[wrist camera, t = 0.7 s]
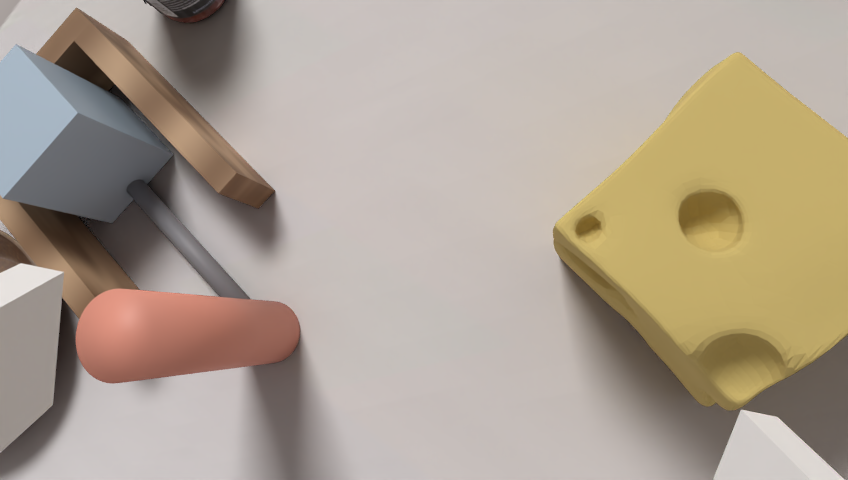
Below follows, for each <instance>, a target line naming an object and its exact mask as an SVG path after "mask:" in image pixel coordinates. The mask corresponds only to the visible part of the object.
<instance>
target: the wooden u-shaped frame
mask: <svg viewBox="0 0 848 480" xmlns="http://www.w3.org/2000/svg"><path fill="white" fill-rule="evenodd" d="M36 55H38V56H40V57H42V58H44V59H46V60H48V61H50V62H52V63H54V64H56V65H58V66H60V67H62V68H63V69H65V70H67V71H69V72H71V73H73V74H75V75H77V76H79V77H81V78H83V79H85V80H87V81H89V82H91V83H93V84H95V85H97V86H98V87H100V88H102V89H104V90H106V91H109V90H110V89H111V88H112V87H113V85H114V84H115V85H116V86H117V87H118V88H119V89H120V90H121V91H122V92H123V93H124V94H125V95H126V96H127V97H128V98H129V99H130V101H131V102H132V103H133V104H134V105H135V106H136V107H137V108H138V109H139V110H140V111H141V112H142V113H143V114H144V115H145V116H146V117H147V118H148V120H149V121H150V122H151V123H152V124H153V125H154V126H155V127H156V128H157V129H158V130H159V131H160V132H161V133H162V134H163V135H164V136H165V138H166V139H167V140H168V141H169V142H170V143H171V144H172V145H173V146H174V147H175V148H176V149H177V150H178V151H179V152H180V153H181V154H182V155H183V157H184V158H185V159H186V160H187V161H188V162H189V163H190V164H191V165H192V166H193V167H194V168H195V169H196V170H197V171H198V172H199V173H200V175H201V176H202V177H203V178H204V179H205V180H206V181H207V182H208V183H209V184H210V185H211V186H212V187H213V188H214V189H215V190H216V191H217V193H219V194H221V195H224V196H227V197H229V198H232V199H234V200H237V201H240V202H242V203H245V204H247V205H250V206H253V207H255V208H258V209H259V208H260V206H261V205H262V204H263V203H264V202H265V201H266V200H267V199H268V198H269V197H270V195H271V194H272V193H273V192H274V191H275V190H274V189H273V188H272V187H271V186H270V185H269V184H268V183H267V182H266V181H265V180H264V179H263V178H262V177H261V176H260V175H259V174H258V173H257V172H256V171H255V170H254V169H253V168H252V167H251V166H250V165H249V164H248V163H247V162H246V161H245V160H244V159H243V158H242V157H241V156H240V155H239V154H238V153H237V152H236V151H235V150H234V149H233V148H232V147H231V146H230V144H229V143H228V142H227V141H226V140H225V139H224V138H223V137H222V136H221V135H220V134H219V133H218V132H217V131H216V130H215V129H214V128H213V127H212V126H211V125H210V124H209V123H208V122H207V121H206V120H205V119H204V118H203V117H202V116H201V115H200V114H199V113H198V112H197V111H196V110H195V109H194V108H193V107H192V106H191V105H190V104H189V103H188V102H187V101H186V100H185V99H184V98H183V97H182V96H181V95H180V94H179V93H178V92H177V91H176V90H175V89H174V88H173V87H172V86H171V84H170V83H169V82H168V81H167V80H166V79H165V78H164V77H163V76H162V75H161V74H160V73H159V72H158V71H157V70H156V69H155V68H154V67H153V66H152V65H151V64H150V63H149V62H148V61H147V60H146V59H145V58H144V57H143V56H142V55H141V54H140V53H139V52H138V51H137V50H136V49H135V48H134V47H133V46H132V45H131V44H130V43H129V42H128V41H127V40H125V39H124V38H122V37H121V36H119V35H118V34H116V33H115V32H113V31H112V30H110V29H109V28H107V27H106V26H104V25H102V24H101V23H99V22H98V21H96V20H95V19H93V18H92V17H90V16H89V15H87V14H86V13H84V12H83V11H81V10H79V9H78V8H76V9H75V10H74V11H73V12H72V13H71V14H70V16H69V17H68V18H67V19H66V20H65V21H64V22H63V24H62V25H61V26H60V27H59V28H58V29H57V31H56V32H55V33H54V34H53V35H52V36H51V37H50V39H49V40H48V41H47V42H46V43H45V44H44V46H43V47H42V48H41V49H40V50H39V51H38V52H37V54H36ZM0 220H1V221H2V222H3V224H4V225H5V226H6V227H7V229H8V230H9V231H10V232H11V234H12V235H13V236H14V237H15V239H16V240H17V241H18V243H19V244H20V245H21V246H22V248H23V249H24V250H25V251H26V253H27V254H28V255H29V256H30V258H31V259H32V260H33V261H34V263H35V264H36V265H37V266H38V267H42V268H47V269H52V270H57V271H62V272H64V279H63V291H62V298H63V299H64V300H65V302H66V303H67V304H68V305H69V307H70V308H71V309H72V310H73V312H74V313H75V314H76V316H77V317H78V318H79V319H80V317H81V315H82V313H83V311H84V309H85V308H86V307H87V305H88V304H89V303H90V302H91V301H92V300H93V299H94V298H95V297H97V296H98V295H99V294H101V293H103V292H105V291H108V290H112V289H132V290H139V289H138V287H137V286H136V285H135V284H134V283H133V281H132V280H131V279H130V278H129V277H128V276H127V274H126V273H125V272H124V271H123V270H122V268H121V267H120V266H119V265H118V264H117V262H116V261H115V260H114V259H113V258H112V257H111V255H110V254H109V253H108V252H107V251H106V249H105V248H104V247H103V246H102V245H101V244H100V242H99V241H98V240H97V239H96V238H95V236H94V235H93V234H92V233H91V232H90V231H89V229H88V228H87V227H86V226H85V225H84V223H83V222H82V221H81V220H80V219H79V217H78V216H77V215H74V214H69V213H65V212H60V211H56V210H52V209H47V208H43V207H38V206H34V205H29V204H25V203H21V202H16V201H12V200H7V199H3V198H2V197H1V196H0Z"/></svg>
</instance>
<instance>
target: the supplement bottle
mask: <svg viewBox="0 0 848 480" xmlns="http://www.w3.org/2000/svg"><path fill="white" fill-rule="evenodd" d="M145 1H146V2H147V3H148V4H149V5H150V6H153V7H154V8H155V9H157V10H158V11H159V12H160V13H162V14H164V15H165V16H166V17H168V18H170V19H172V20H175V21H178V22H184V23H192V22H197V21H200V20H202V19H205V18H207V17H209V16H210V15H211V14H213V13H215V12H216V11H217V10H218V9H219V8H220V7H221V5H222V4H223V3H224V1H225V0H144V2H145ZM146 2H145V4H146Z"/></svg>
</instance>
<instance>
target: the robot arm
mask: <svg viewBox="0 0 848 480" xmlns="http://www.w3.org/2000/svg"><path fill="white" fill-rule="evenodd" d="M63 279H64V272H62V271H57V270H52V269H47V268H42V267H37V266H32V265H27V264H22V263H20V264H18V265H16V266H14V267H12V268H10V269H8V270H6V271H3V272H1V273H0V453H1V452H2V451H3V450H4V449H5V448H6V447H7V446H8V445H10V444H11V443H12V442H13V441H14V440H15V439H16V438H17V437H18V436H19V435H21V434H22V433H23V432H24V431H25V430H26V429H27V428H28V427H29V426H31V425H32V424H33V423H34V422H35V421H36V420H37V419H38V418H39V417H40V416H42V415H43V414H44V413H45V412H46V411H47V410H48V409H49V408H50V407H51V406H53V398H54V387H55V375H56V363H57V351H58V339H59V327H60V315H61V303H62V291H63ZM713 480H845V479H843V478H842V477H841V476H840V475H839V474H838V473H837V472H836V471H835V470H834V469H833V468H832V467H831V466H829V465H828V464H827V463H826V462H825V461H824V460H823V459H822V458H821V457H820V456H819V455H818V454H817V453H816V452H814V451H813V450H812V449H811V448H810V447H809V446H808V445H807V444H806V443H805V442H804V441H803V440H802V439H800V438H799V437H798V436H797V435H796V434H795V433H794V432H793V431H792V430H791V429H790V428H789V427H788V426H787V425H785V424H784V423H783V422H782V421H781V420H780V419H779V418H778V417H776V416H771V415H766V414H761V413H756V412H751V411H746V410H741V411H740V413H739V416H738V418H737V421H736V423H735V426H734V428H733V431H732V433H731V436H730V438H729V441H728V443H727V446H726V448H725V451H724V453H723V456H722V458H721V461H720V463H719V466H718V469H717V471H716V474H715V476H714V479H713Z"/></svg>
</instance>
